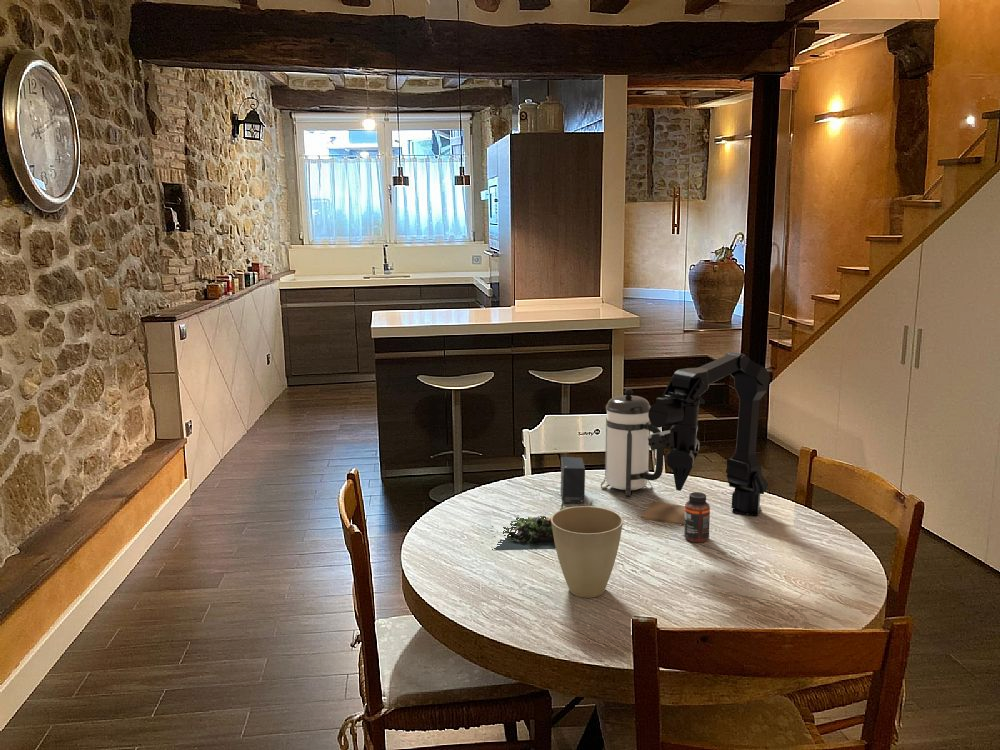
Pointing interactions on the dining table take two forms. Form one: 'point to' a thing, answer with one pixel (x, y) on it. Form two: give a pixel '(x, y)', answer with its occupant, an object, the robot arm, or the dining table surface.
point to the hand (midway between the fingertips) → (680, 485)
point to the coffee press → (629, 444)
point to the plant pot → (586, 547)
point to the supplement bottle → (697, 518)
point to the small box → (572, 480)
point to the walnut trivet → (665, 513)
